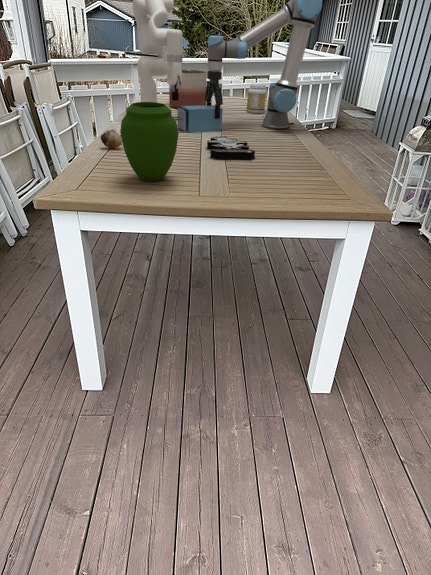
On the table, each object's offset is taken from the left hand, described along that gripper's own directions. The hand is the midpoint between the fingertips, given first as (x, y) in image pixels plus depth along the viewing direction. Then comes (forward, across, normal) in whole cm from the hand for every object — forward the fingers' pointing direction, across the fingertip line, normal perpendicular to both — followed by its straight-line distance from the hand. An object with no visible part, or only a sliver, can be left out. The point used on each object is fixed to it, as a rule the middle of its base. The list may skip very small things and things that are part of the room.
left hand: (175, 100), depth 209 cm
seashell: (+15, +29, -40) cm, 51 cm away
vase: (+15, +74, -36) cm, 84 cm away
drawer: (+14, 0, +9) cm, 17 cm away
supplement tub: (+15, -45, +75) cm, 88 cm away
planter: (+14, -71, +35) cm, 81 cm away
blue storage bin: (+15, 0, +15) cm, 21 cm away
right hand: (+9, 0, +22) cm, 23 cm away
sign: (+15, +46, +9) cm, 49 cm away
